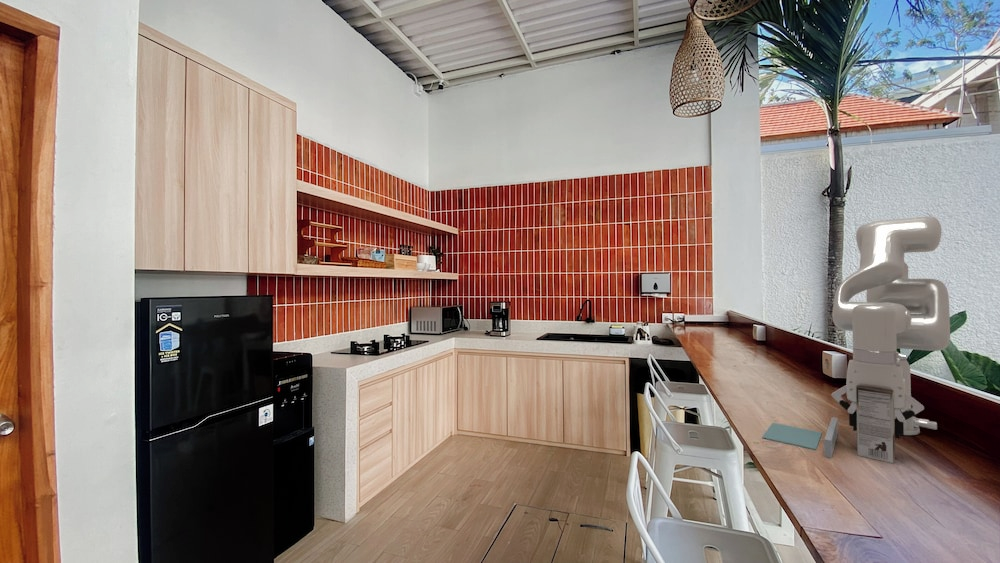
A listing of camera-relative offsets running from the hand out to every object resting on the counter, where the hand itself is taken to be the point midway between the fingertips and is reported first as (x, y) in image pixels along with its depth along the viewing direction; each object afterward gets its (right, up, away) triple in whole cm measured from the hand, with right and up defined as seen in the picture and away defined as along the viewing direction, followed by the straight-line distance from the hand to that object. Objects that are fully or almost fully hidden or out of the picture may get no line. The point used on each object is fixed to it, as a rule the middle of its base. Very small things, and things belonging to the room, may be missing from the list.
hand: (875, 432), depth 93 cm
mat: (-11, -5, +11) cm, 17 cm away
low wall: (-6, -5, +6) cm, 9 cm away
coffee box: (0, -5, 0) cm, 5 cm away
